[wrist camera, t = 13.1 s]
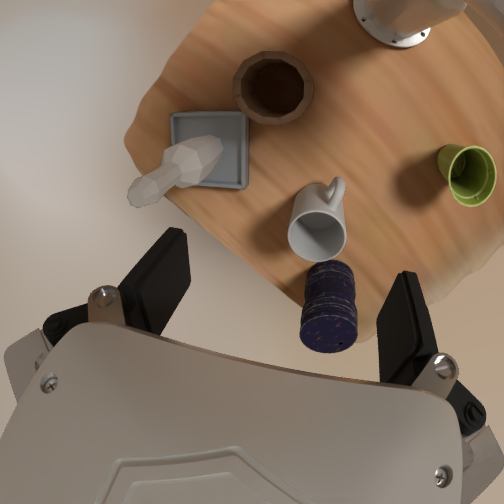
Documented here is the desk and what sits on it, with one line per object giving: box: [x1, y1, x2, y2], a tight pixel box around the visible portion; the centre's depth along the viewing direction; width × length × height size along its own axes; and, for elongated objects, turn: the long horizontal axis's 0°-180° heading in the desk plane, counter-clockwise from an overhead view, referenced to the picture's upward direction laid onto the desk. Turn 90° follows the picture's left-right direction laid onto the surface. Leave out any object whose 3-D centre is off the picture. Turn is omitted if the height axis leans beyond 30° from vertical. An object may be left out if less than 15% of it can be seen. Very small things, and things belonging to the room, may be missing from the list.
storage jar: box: [300, 260, 358, 353], centre depth 49 cm, size 10×10×15 cm
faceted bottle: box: [127, 135, 224, 208], centre depth 36 cm, size 6×6×22 cm
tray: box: [170, 110, 249, 189], centre depth 45 cm, size 13×13×2 cm
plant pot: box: [437, 144, 496, 207], centre depth 33 cm, size 9×9×9 cm
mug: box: [287, 177, 346, 262], centre depth 42 cm, size 12×8×11 cm
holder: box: [233, 51, 314, 126], centre depth 34 cm, size 10×10×9 cm
